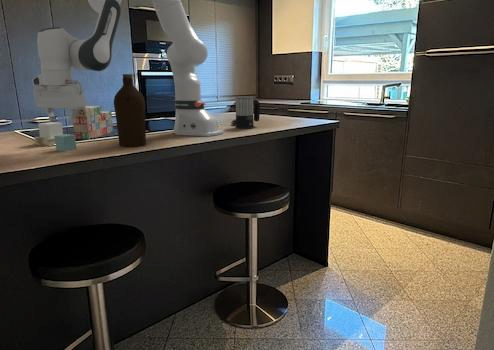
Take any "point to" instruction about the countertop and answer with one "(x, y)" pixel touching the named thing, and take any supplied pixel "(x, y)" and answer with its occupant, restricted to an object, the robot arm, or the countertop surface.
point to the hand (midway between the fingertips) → (62, 122)
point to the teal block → (65, 142)
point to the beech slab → (44, 141)
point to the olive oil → (130, 114)
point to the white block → (50, 129)
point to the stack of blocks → (92, 123)
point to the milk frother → (246, 112)
